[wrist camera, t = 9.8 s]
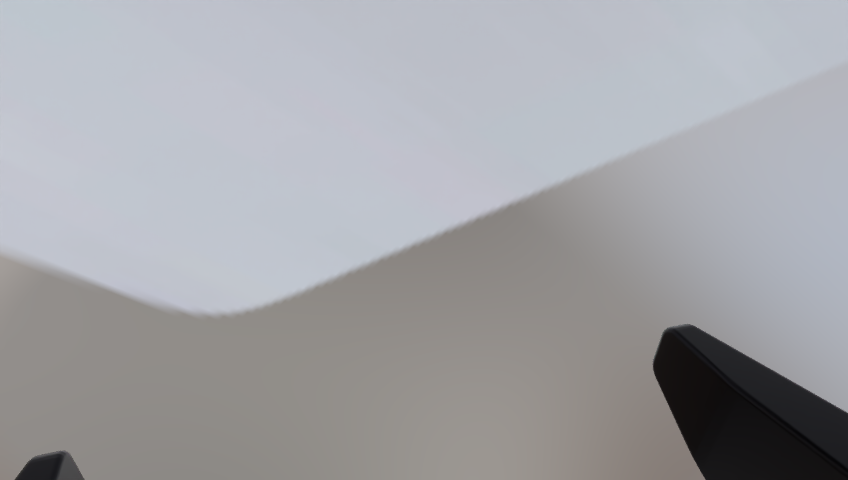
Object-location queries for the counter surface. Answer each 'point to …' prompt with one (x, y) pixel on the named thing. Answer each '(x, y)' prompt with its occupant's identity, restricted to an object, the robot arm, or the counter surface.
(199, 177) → the counter surface
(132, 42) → the counter surface
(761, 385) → the robot arm
